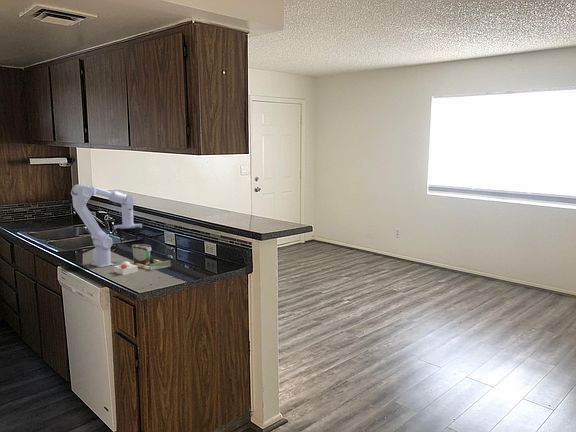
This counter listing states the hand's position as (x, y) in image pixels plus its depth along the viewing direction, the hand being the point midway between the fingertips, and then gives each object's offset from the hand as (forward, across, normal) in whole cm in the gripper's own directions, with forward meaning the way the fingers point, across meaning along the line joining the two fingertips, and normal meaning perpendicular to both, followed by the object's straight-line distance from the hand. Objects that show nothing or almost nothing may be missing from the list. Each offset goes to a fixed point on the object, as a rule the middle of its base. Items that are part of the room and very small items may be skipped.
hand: (128, 241), depth 262 cm
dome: (+10, -2, -26) cm, 28 cm away
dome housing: (+10, -2, -26) cm, 28 cm away
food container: (+11, +7, -11) cm, 17 cm away
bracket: (+10, +11, -17) cm, 22 cm away
